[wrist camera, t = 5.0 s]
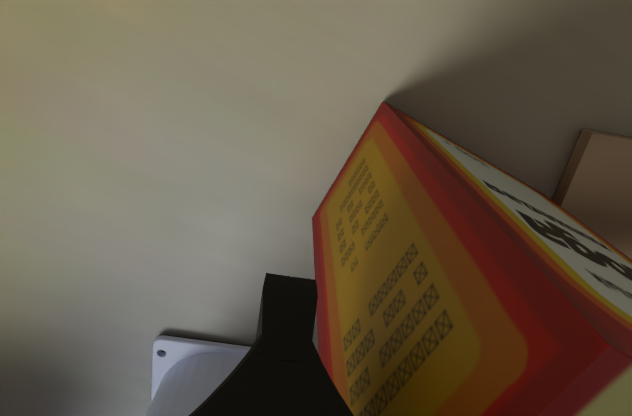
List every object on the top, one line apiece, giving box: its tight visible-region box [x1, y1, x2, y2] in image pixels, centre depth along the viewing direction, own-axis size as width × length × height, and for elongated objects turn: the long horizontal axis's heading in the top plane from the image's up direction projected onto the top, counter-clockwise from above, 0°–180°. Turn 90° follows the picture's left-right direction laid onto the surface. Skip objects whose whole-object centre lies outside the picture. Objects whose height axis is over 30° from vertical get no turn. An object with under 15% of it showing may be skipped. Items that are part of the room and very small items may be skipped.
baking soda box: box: [312, 101, 632, 416], centre depth 14 cm, size 10×6×16 cm
